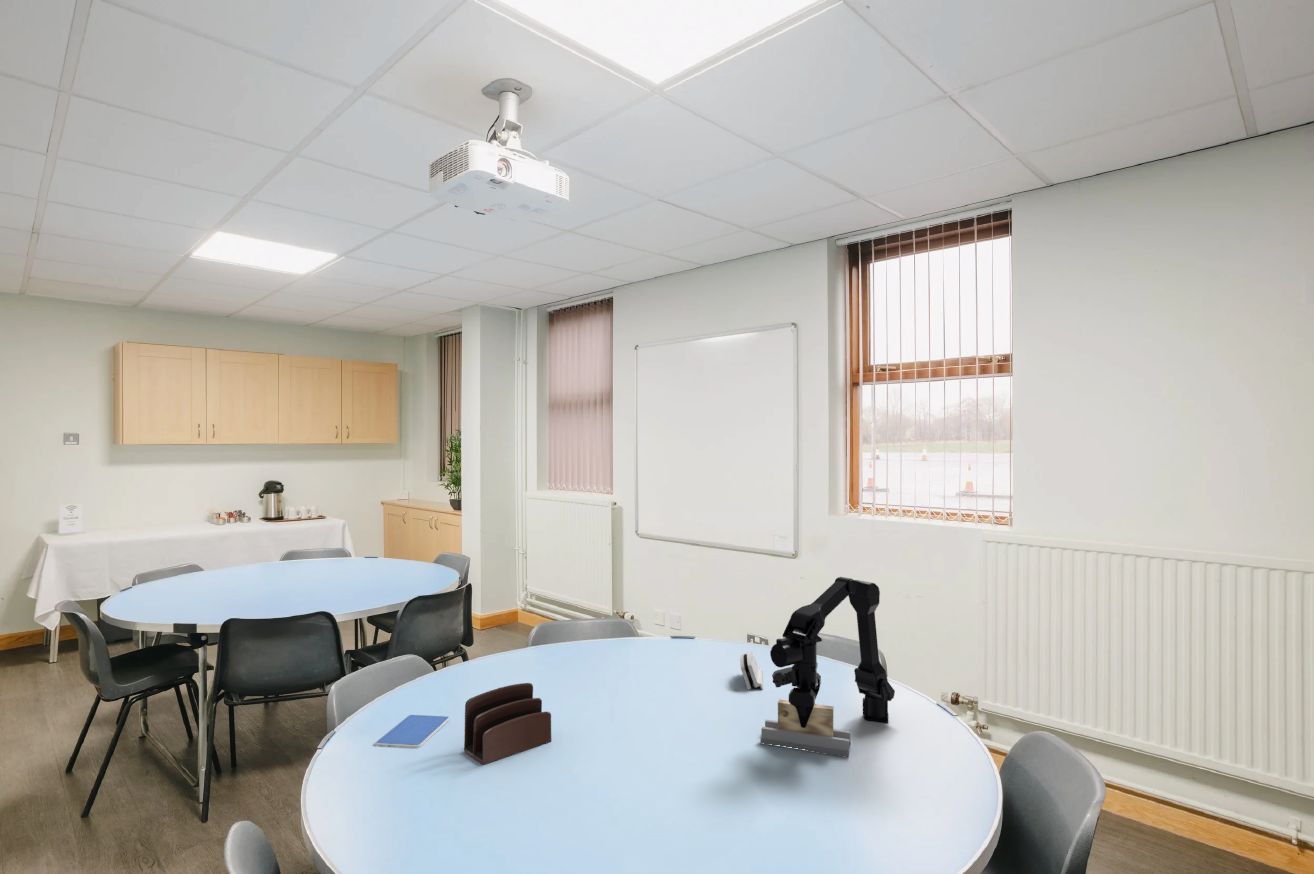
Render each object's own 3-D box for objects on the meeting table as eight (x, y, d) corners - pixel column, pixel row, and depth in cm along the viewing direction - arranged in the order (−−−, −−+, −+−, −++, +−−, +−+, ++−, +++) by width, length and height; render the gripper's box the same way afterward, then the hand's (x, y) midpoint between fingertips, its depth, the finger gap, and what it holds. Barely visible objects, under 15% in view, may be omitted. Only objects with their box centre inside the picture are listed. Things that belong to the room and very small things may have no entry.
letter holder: (463, 752, 164) (464, 695, 164) (530, 730, 177) (531, 678, 178) (482, 766, 156) (483, 706, 157) (551, 742, 170) (552, 687, 171)
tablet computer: (419, 750, 165) (419, 745, 165) (372, 747, 167) (372, 742, 167) (451, 720, 185) (451, 716, 185) (409, 718, 186) (409, 713, 186)
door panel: (833, 741, 169) (833, 706, 169) (832, 746, 166) (832, 710, 166) (779, 733, 174) (779, 699, 174) (777, 738, 171) (777, 703, 171)
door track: (850, 742, 170) (850, 729, 171) (848, 757, 162) (848, 743, 162) (766, 730, 178) (766, 717, 178) (760, 743, 169) (760, 730, 170)
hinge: (763, 690, 210) (752, 660, 211) (749, 694, 210) (738, 664, 211) (763, 673, 226) (754, 645, 227) (750, 677, 227) (741, 649, 228)
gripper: (780, 647, 182) (780, 704, 182) (768, 667, 165) (768, 729, 164) (821, 651, 179) (821, 709, 178) (813, 672, 161) (813, 736, 160)
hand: (805, 720), depth 170 cm, fingers open, 9 cm apart
